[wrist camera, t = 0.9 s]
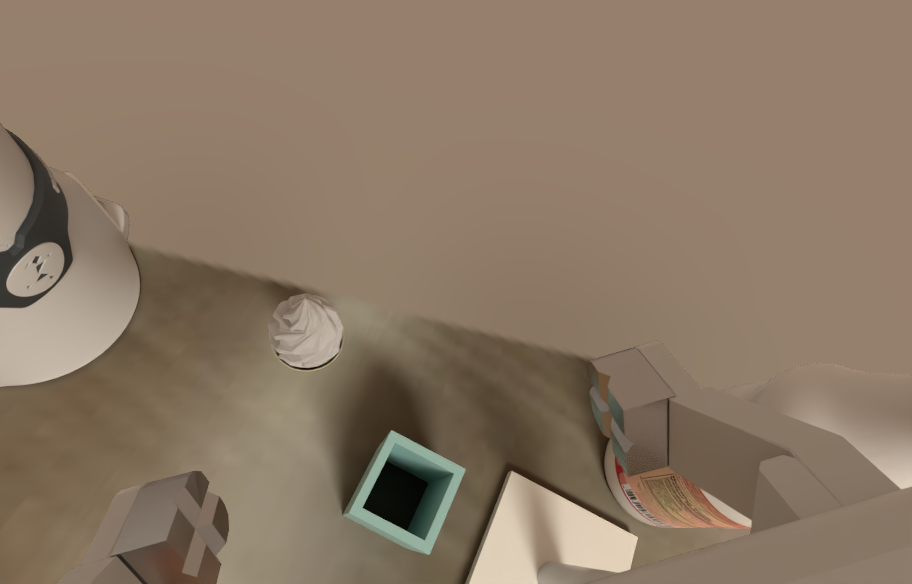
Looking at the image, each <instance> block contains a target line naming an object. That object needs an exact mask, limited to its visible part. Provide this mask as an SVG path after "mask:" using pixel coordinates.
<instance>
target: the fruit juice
mask: <svg viewBox="0 0 912 584" xmlns="http://www.w3.org/2000/svg"><path fill="white" fill-rule="evenodd" d="M719 391H722V392H725V393H727V394H730V395H733V396H736V397H738V398H741V399H744V400H746V401H749V402H752V403H754V404H757V405H760V406H762V407H765V408H768V409H770V410H773V411H776V412H779V413H781V414H784V415H787V416H789V417H792V418H795V419H797V420H800V421H803V422H805V423H808V424H811V425H814V426H816V427H819V428H822V429H824V430H827V431H830V432H832V433H835V434H838V435H840V436H843V437H844V438H845V439H846V440H847V441H848V442H849V443H850V444H851V445H853V446H854V447H855V448H856V449H857V450H858V451H859V452H860V453H861V454H863V455H864V456H865V457H866V458H867V459H868V460H869V461H870V462H871V463H873V464H874V465H875V466H876V467H877V468H878V469H879V470H880V471H881V472H882V473H884V474H885V475H886V476H887V477H888V478H889V479H890V480H891V481H892V482H894V483H895V484H896V485H897V486H898V487H899V488H900V489H905V488H908V487H911V486H912V375H905V374H889V373H877V372H866V371H858V370H855V369H852V368H849V367H845V366H841V365H835V364H827V363H816V364H807V365H802V366H798V367H794V368H790V369H788V370H785V371H783V372H781V373H779V374H777V375H776V376H774V377H772V378H771V379H770V380H768V381H767V382H766V383H745V384H739V385H734V386H730V387H726V388H722V389H719ZM604 467H605V475H606V479H607V482H608V485H609V488H610V490H611V492H612V494H613V496H614V497H615V499H616V501H617V502H618V503H619V505H620V506H621V507H622V508H623V509H624V510H625V511H626V512H627V513H628V514H630V515H631V516H632V517H634V518H635V519H637V520H639V521H641V522H643V523H645V524H648V525H652V526H656V527H668V528H751V524H752V521H751V520H750V519H748V518H747V517H745V516H744V515H742V514H740V513H739V512H737V511H736V510H734V509H733V508H731V507H729V506H728V505H726V504H725V503H723V502H721V501H720V500H718V499H717V498H715V497H714V496H712V495H710V494H709V493H707V492H706V491H704V490H702V489H701V488H699V487H698V486H696V485H695V484H693V483H691V482H690V481H688V480H687V479H685V478H683V477H682V476H680V475H679V474H677V473H676V472H674V471H672V470H671V469H669V467H665V468H661V469H657V470H653V471H649V472H645V473H641V474H638V475H634V476H630V477H627V475H626V473H625V472H624V470H623V468H622V467H621V465H620V463H619V461H618V460H617V458H616V456H615V454H614V453H613V447H612V439H610V440H609V442H608V444H607V448H606V451H605V459H604Z"/></svg>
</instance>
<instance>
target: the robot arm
mask: <svg viewBox="0 0 912 584" xmlns="http://www.w3.org/2000/svg"><path fill="white" fill-rule="evenodd" d="M128 232H129V217H128V214H127V212H126V211H125V210H124V209H123V208H122V207H121V206H120V205H119V204H117V203H114V202H111V201H108V200H105V199H102V198H99V197H96V196H93V195H92V194H91V193H90V192H89V191H88V189H87V188H86V187H85V186H84V185H83V184H82V182H81V181H80V180H79V179H78V178H77V177H76V176H75V175H73V174H72V173H70V172H68V171H66V172H60V171H58V170H56V169H53V168H49V167H47V165H46V164H45V163H44V162H43V160H42V159H41V158H40V157H39V156H38V155H37V154H36V153H35V152H34V151H33V150H32V149H30V148H29V147H28V146H27V145H26V144H25V143H24V142H23V141H22V140H21V139H20V138H19V137H17V136H16V135H14V134H13V133H12V132H10V131H8V130H7V129H5V128H4V127H3V126H2V124H1V123H0V387H2V386H15V385H26V384H33V383H39V382H43V381H47V380H51V379H54V378H57V377H60V376H63V375H65V374H68V373H70V372H72V371H74V370H76V369H78V368H80V367H82V366H84V365H86V364H87V363H89V362H90V361H92V360H93V359H95V358H96V357H98V356H99V355H100V354H102V353H103V352H104V351H105V350H106V349H108V348H109V347H110V346H111V345H112V344H113V343H114V342H115V341H116V340H117V338H118V337H119V336H120V335H121V334H122V332H123V331H124V329H125V328H126V327H127V325H128V323H129V322H130V320H131V318H132V316H133V314H134V311H135V309H136V306H137V302H138V298H139V291H140V278H139V272H138V268H137V264H136V262H135V259H134V257H133V255H132V253H131V251H130V248H129V245H128V241H127V240H128ZM587 376H588V378H589V379H590V381H591V383H592V384H593V387H592V388H591V390H590V392H589V394H590V401H591V406H592V410H593V413H594V417H595V419H596V421H597V423H598V426H599V428H600V429H601V431H602V433H603V435H604V436H606V437H608V438H610V439H612V447H613V453H614V454H615V456H616V458H617V460H618V461H619V463H620V465H621V467H622V468H623V470H624V472H625V473H626V475H627V477H630V476H634V475H638V474H641V473H645V472H649V471H653V470H657V469H661V468H665V467H669V469H671V470H672V471H674V472H676V473H677V474H679V475H680V476H682V477H683V478H685V479H687V480H688V481H690V482H691V483H693V484H695V485H696V486H698V487H699V488H701V489H702V490H704V491H706V492H707V493H709V494H710V495H712V496H714V497H715V498H717V499H718V500H720V501H721V502H723V503H725V504H726V505H728V506H729V507H731V508H733V509H734V510H736V511H737V512H739V513H740V514H742V515H744V516H745V517H747V518H748V519H750V520H751V521H752V524H751V531H750V534H749V535H746V536H742V537H739V538H735V539H732V540H728V541H725V542H722V543H718V544H715V545H712V546H708V547H705V548H701V549H698V550H695V551H691V552H688V553H684V554H681V555H678V556H674V557H671V558H667V559H664V560H661V561H657V562H654V563H651V564H647V565H644V566H640V567H637V568H634V569H630V570H627V571H623V572H620V573H617V574H613V575H610V576H607V577H603V578H600V579H596V580H593V581H590V582H586V583H583V584H912V486H911V487H908V488H905V489H900V488H899V487H898V486H897V485H896V484H895V483H894V482H892V481H891V480H890V479H889V478H888V477H887V476H886V475H885V474H884V473H882V472H881V471H880V470H879V469H878V468H877V467H876V466H875V465H874V464H873V463H871V462H870V461H869V460H868V459H867V458H866V457H865V456H864V455H863V454H861V453H860V452H859V451H858V450H857V449H856V448H855V447H854V446H853V445H851V444H850V443H849V442H848V441H847V440H846V439H845V438H844V437H843V436H840V435H838V434H835V433H832V432H830V431H827V430H824V429H822V428H819V427H816V426H814V425H811V424H808V423H805V422H803V421H800V420H797V419H795V418H792V417H789V416H787V415H784V414H781V413H779V412H776V411H773V410H770V409H768V408H765V407H762V406H760V405H757V404H754V403H752V402H749V401H746V400H744V399H741V398H738V397H736V396H733V395H730V394H727V393H725V392H722V391H719V390H717V389H714V388H711V387H709V388H706V389H703V388H702V387H701V386H700V385H699V384H698V383H697V381H696V380H695V379H694V378H693V377H692V376H691V375H690V374H689V373H688V372H687V370H686V369H685V368H684V367H683V366H682V365H681V364H680V363H679V362H678V361H677V359H676V358H675V357H674V356H673V355H672V354H671V353H670V352H669V350H668V349H667V348H666V347H665V346H664V345H663V344H662V343H661V342H659V341H657V340H656V341H653V342H649V343H646V344H643V345H640V346H636V347H634V348H631V349H627V350H624V351H620V352H617V353H613V354H610V355H606V356H603V357H599V358H596V359H592V360H589V361H587ZM208 485H209V481H208V480H207V478H206V477H205V476H204V475H203V473H202V472H201V471H192V472H188V473H184V474H180V475H176V476H172V477H169V478H165V479H161V480H157V481H153V482H149V483H146V484H144V485H139V486H135V487H131V488H127V489H123V490H121V491H120V492H119V493H118V494H116V495H115V496H114V498H113V500H112V502H111V504H110V506H109V508H108V510H107V512H106V515H105V517H104V519H103V521H102V523H101V525H100V527H99V529H98V531H97V533H96V535H95V537H94V539H93V541H92V543H91V545H90V547H89V549H88V551H87V553H86V555H85V557H84V559H83V561H82V563H81V565H80V566H79V567H76V568H72V569H71V570H70V571H69V572H68V573H67V574H66V575H65V576H64V577H63V578H62V579H60V580H59V581H58V582H57V583H56V584H216V582H217V578H218V574H219V570H220V566H221V563H220V562H219V560H218V558H217V557H216V555H217V554H218V552H219V551H220V550H221V549H222V547H223V546H224V545H225V544H226V541H227V536H228V532H229V521H228V513H227V510H226V507H225V504H224V503H223V501H222V500H221V498H220V497H219V496H217V495H215V494H212V493H210V492H207V488H208Z"/></svg>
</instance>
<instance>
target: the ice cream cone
mask: <svg viewBox="0 0 912 584" xmlns="http://www.w3.org/2000/svg"><path fill="white" fill-rule="evenodd" d="M267 328H268V329H269V331H270V333H269V339H270V342H271V347H272V350H273V352H274V354H275V356H276V357H277V358H278V360H279V361H281V362H282V363H283V364H284V365H286V366H287V367H289V368H291V369H294V370H298V371H307V372H309V371H315V370H319V369H322V368H324V367H326V366H328V365H329V364H330V363H332V362H333V361H334V360H335V359H336V358H337V357H338V355H339V354H340V352H341V350H342V348H343V345H344V339H345V334H344V328H343V325H342V323H341V321H340V318H339V314H338V312H337V310H336V308H335V306H334V304H333V303H331V302H329V301H327V300H325V299H324V298H322V297H320V296H318V295H310V294H307V293H305V294H300V295H296V296H291V297H290V298H289V299H288V300H287V301H283V302H281V303H279V305H278V306H277V308H276V310H275V312H274V313H273V317H272V318H271V320H270V322H269V325H268V327H267Z"/></svg>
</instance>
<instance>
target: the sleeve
mask: <svg viewBox="0 0 912 584" xmlns="http://www.w3.org/2000/svg"><path fill="white" fill-rule="evenodd" d="M386 461H387V462H389V463H391V464H393V465H395V466H397V467H399V468H401V469H403V470H405V471H407V472H408V473H410V474H412V475H414V476H416V477H418V478H420V479H422V480H424V481H426V482H427V483H428V485H427V487H426V489H425V492H424V494H423V496H422V498H421V500H420V503H419V505H418V507H417V509H416V511H415V514H414V516H413V518H412V520H411V522H410V525H409V527H408V529H407V531H405V530H404V529H402V528H400V527H398V526H396V525H394V524H392V523H390V522H388V521H386V520H384V519H383V518H381V517H379V516H377V515H375V514H373V513H371V512H369V511H367V510H365V509H363V506H364V504H365V502H366V500H367V498H368V496H369V494H370V492H371V490H372V488H373V486H374V484H375V482H376V480H377V478H378V476H379V474H380V472H381V470H382V468H383V466H384V464H385V462H386ZM465 470H466V469H464V468H463V467H461V466H459V465H457V464H455V463H453V462H451V461H449V460H447V459H445V458H444V457H442V456H440V455H438V454H436V453H434V452H432V451H430V450H428V449H427V448H425V447H423V446H421V445H419V444H417V443H415V442H413V441H411V440H409V439H408V438H406V437H404V436H402V435H400V434H398V433H396V432H394V431H392V430H391V431H390V432H389V434H388V435H387V436H386V438H385V439H384V440H383V441H382V443H381V444H380V445H379V446H378V448H377V450H376V452H375V453H374V455H373V457H372V459H371V461H370V463H369V465H368V467H367V469H366V471H365V473H364V475H363V477H362V479H361V480H360V482H359V484H358V486H357V488H356V490H355V492H354V494H353V496H352V498H351V500H350V502H349V504H348V506H347V508H346V509H345V511H344V513H343V516H345V517H347V518H349V519H351V520H353V521H355V522H357V523H359V524H361V525H362V526H364V527H366V528H368V529H370V530H372V531H374V532H376V533H378V534H380V535H382V536H384V537H385V538H387V539H389V540H391V541H393V542H395V543H397V544H399V545H401V546H403V547H405V548H407V549H410V550H413V551H417V552H420V553H424V554H428V555H430V552H431V550H432V548H433V545H434V543H435V541H436V538H437V536H438V533H439V531H440V529H441V526H442V524H443V522H444V519H445V517H446V515H447V512H448V510H449V508H450V505H451V503H452V501H453V498H454V496H455V494H456V491H457V489H458V486H459V484H460V482H461V479H462V477H463V475H464V472H465Z"/></svg>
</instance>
